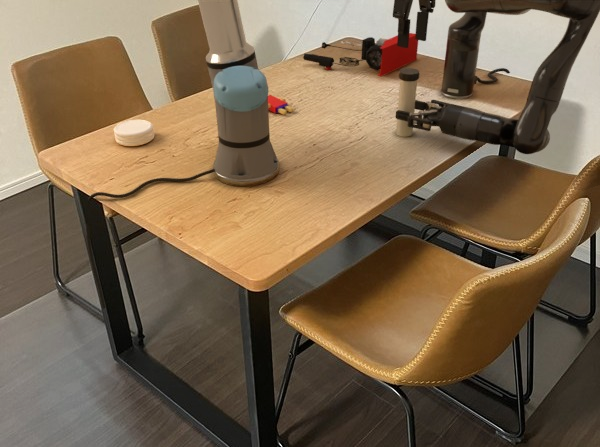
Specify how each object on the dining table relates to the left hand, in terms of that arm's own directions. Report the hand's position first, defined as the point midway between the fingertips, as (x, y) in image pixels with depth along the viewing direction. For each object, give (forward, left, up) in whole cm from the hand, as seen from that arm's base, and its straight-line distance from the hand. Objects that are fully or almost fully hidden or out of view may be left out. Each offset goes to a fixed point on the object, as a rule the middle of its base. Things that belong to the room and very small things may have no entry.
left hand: (411, 43), depth 150 cm
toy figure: (-15, +36, -24) cm, 46 cm away
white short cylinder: (-55, +44, -24) cm, 74 cm away
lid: (0, 0, -7) cm, 7 cm away
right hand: (0, +1, -17) cm, 17 cm away
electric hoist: (+33, +50, -24) cm, 64 cm away
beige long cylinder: (0, 0, -24) cm, 24 cm away
